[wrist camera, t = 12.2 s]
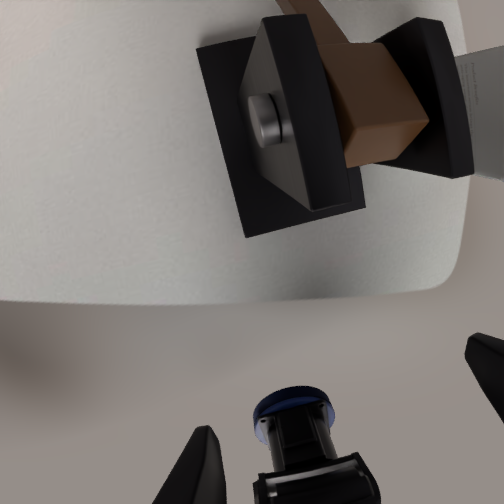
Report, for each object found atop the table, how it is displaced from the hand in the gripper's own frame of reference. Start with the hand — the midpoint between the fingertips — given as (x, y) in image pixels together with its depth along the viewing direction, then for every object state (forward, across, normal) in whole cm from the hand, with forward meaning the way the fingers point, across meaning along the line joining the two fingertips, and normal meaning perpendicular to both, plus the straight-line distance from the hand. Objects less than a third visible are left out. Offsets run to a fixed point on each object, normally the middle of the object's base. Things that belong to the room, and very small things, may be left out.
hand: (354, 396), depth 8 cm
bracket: (+13, -2, -8) cm, 15 cm away
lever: (+6, -2, -12) cm, 13 cm away
